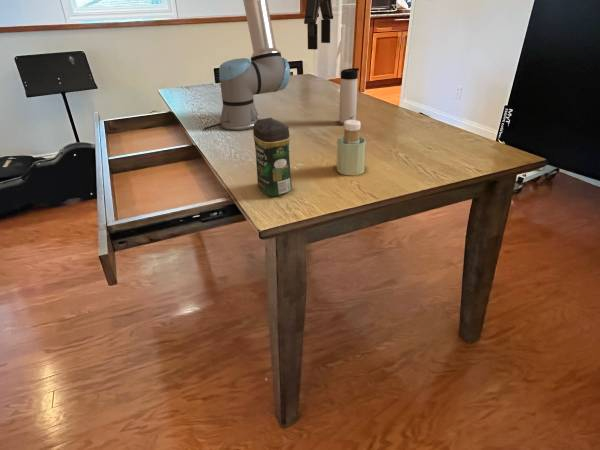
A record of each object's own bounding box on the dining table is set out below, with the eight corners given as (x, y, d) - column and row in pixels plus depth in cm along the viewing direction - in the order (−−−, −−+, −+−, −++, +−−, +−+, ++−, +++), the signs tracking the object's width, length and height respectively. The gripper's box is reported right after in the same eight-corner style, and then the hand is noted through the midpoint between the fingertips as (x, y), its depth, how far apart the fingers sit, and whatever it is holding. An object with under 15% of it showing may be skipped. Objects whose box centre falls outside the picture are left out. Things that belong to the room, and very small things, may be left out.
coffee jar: (253, 186, 112) (247, 118, 103) (279, 179, 115) (276, 113, 106) (268, 200, 105) (263, 129, 95) (296, 193, 108) (294, 123, 98)
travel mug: (355, 125, 155) (358, 70, 145) (338, 125, 157) (339, 69, 146) (357, 120, 161) (359, 66, 150) (340, 120, 162) (341, 66, 152)
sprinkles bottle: (342, 164, 122) (343, 119, 115) (357, 164, 122) (359, 119, 115) (343, 170, 118) (344, 124, 111) (359, 170, 118) (361, 123, 111)
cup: (340, 176, 116) (341, 145, 112) (334, 165, 123) (334, 136, 119) (367, 174, 117) (369, 143, 113) (360, 163, 124) (361, 134, 119)
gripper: (319, -40, 101) (319, 52, 112) (343, -38, 122) (341, 40, 132) (290, -39, 104) (293, 51, 114) (319, -37, 124) (319, 40, 135)
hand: (319, 46), depth 123 cm, fingers open, 13 cm apart
